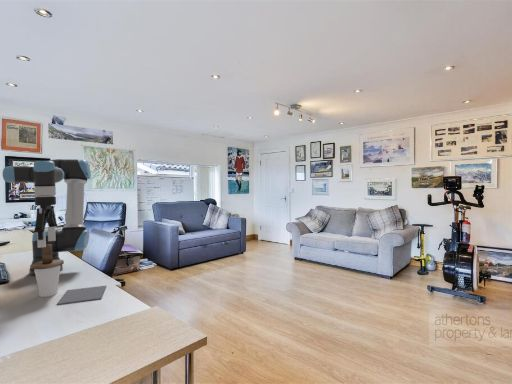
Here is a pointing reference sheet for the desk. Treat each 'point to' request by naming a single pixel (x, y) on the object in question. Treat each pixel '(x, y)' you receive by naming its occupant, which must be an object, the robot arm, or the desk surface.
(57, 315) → the desk surface
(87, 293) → the mat
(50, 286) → the foam cup
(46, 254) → the lid
